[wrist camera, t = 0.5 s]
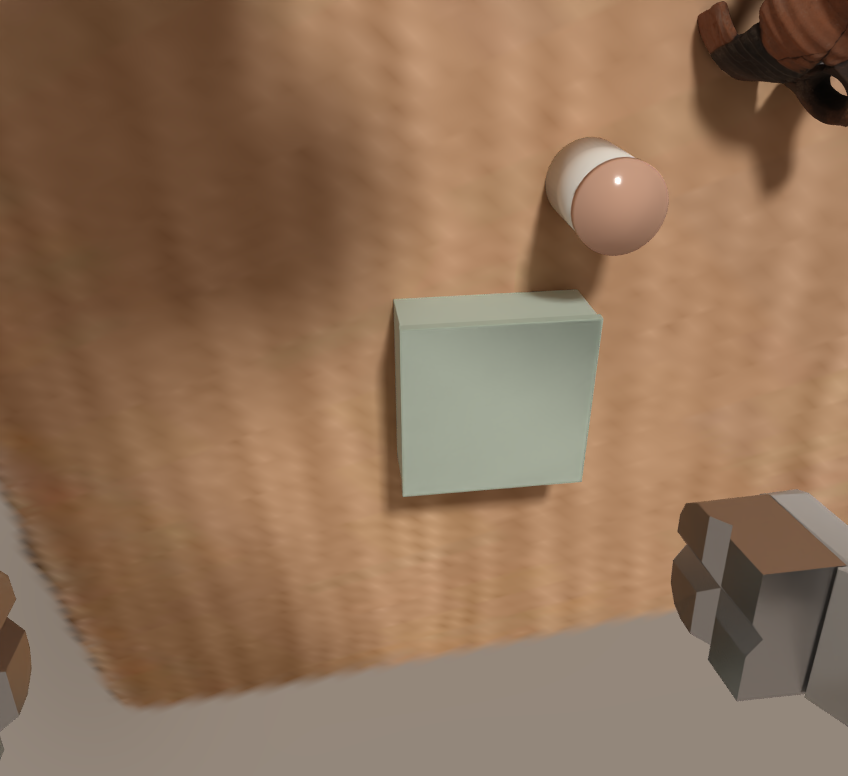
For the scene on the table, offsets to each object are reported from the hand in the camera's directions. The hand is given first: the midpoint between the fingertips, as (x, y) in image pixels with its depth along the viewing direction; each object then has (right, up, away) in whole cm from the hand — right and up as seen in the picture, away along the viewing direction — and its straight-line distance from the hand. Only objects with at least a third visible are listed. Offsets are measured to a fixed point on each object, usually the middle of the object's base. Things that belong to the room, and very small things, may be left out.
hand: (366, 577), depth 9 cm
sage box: (+5, +3, +42) cm, 42 cm away
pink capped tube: (+10, +15, +36) cm, 40 cm away
